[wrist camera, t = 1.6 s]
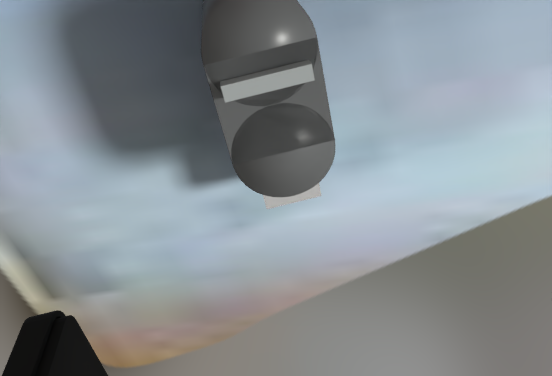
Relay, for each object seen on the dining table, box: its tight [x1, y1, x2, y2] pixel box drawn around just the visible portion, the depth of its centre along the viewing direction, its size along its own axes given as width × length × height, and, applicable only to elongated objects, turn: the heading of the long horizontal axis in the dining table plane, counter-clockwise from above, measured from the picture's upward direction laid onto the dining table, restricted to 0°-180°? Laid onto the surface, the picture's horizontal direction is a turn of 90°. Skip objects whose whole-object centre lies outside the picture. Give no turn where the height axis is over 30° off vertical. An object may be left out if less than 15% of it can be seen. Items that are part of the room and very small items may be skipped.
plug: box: [201, 0, 335, 209], centre depth 22 cm, size 10×4×6 cm, turn 13°
